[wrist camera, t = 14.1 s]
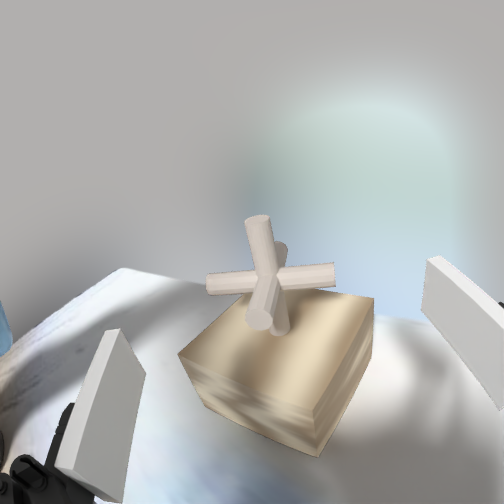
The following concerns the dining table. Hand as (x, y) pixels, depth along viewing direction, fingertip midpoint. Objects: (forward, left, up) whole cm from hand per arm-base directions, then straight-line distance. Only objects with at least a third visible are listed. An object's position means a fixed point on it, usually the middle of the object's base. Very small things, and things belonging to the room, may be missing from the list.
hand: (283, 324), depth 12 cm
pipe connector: (-7, +8, -9) cm, 14 cm away
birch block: (-7, +8, -17) cm, 20 cm away
